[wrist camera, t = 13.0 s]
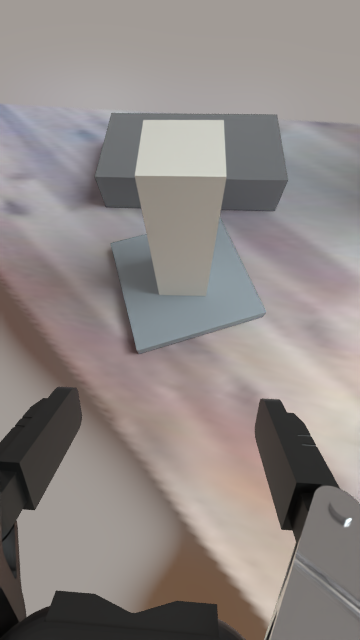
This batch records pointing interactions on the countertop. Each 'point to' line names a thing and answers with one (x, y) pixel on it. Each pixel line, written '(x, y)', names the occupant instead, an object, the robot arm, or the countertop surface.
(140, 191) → the tall cream white pillar
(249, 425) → the countertop surface
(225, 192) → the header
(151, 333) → the mat
